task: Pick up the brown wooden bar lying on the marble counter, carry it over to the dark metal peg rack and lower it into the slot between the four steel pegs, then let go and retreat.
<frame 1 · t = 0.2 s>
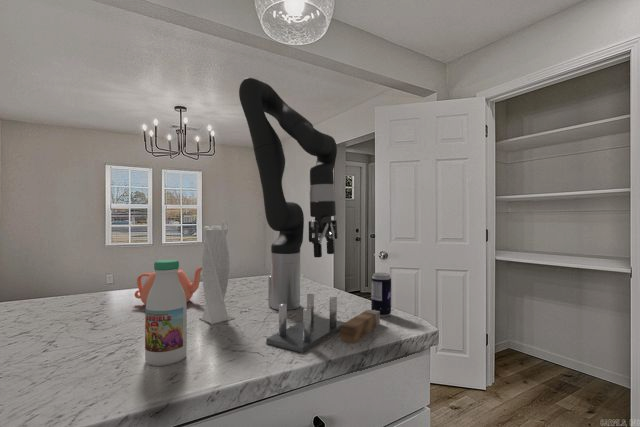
hand: (324, 255, 101), 17 cm above the counter, tool pointing down, fingers open, 8 cm apart
skyscraper: (216, 321, 95), on the counter
brown wooden bar: (361, 331, 86), on the counter
beverage can: (381, 315, 101), on the counter
teapot: (170, 304, 112), on the counter
peg rack: (308, 334, 84), on the counter
milk bottle: (166, 359, 70), on the counter
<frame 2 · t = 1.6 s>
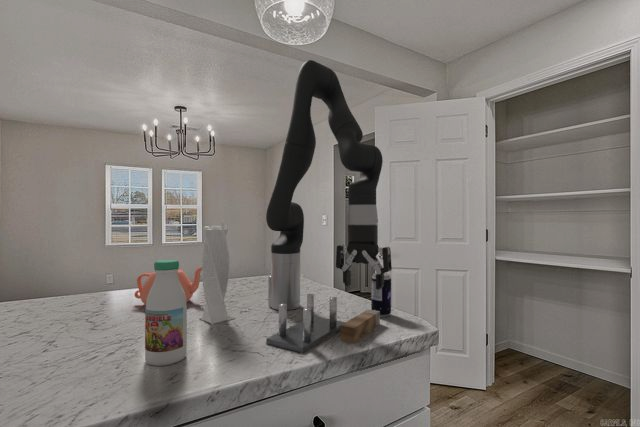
hand: (363, 287, 86), 11 cm above the counter, tool pointing down, fingers open, 8 cm apart
nothing on the counter moved.
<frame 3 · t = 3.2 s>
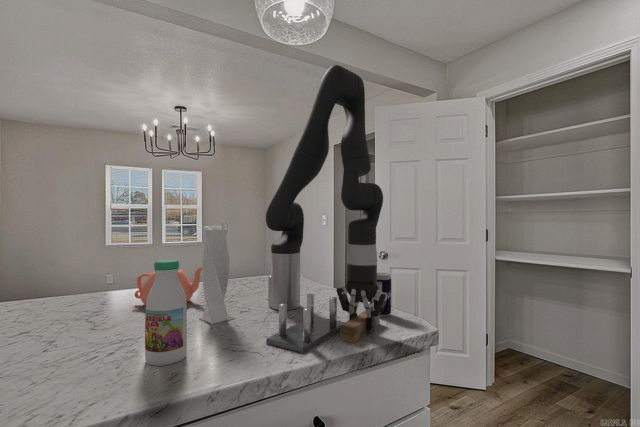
hand: (361, 329, 86), 0 cm above the counter, tool pointing down, fingers closed on brown wooden bar, 3 cm apart
brown wooden bar: (361, 331, 86), on the counter, touching gripper
everything else where it was.
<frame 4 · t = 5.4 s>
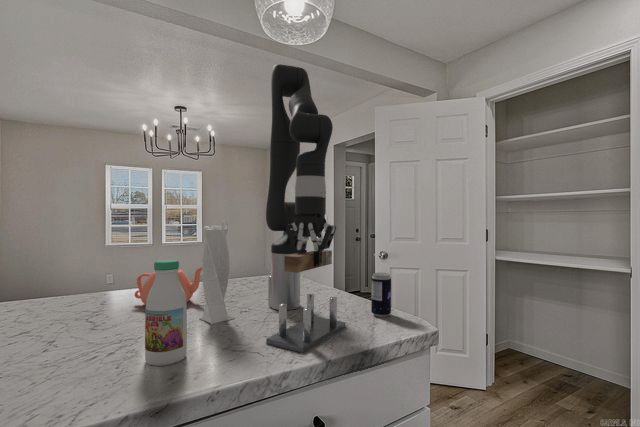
hand: (309, 265, 84), 17 cm above the counter, tool pointing down, fingers closed on brown wooden bar, 3 cm apart
brown wooden bar: (309, 267, 84), point 16 cm above the counter, touching gripper
everything else where it was.
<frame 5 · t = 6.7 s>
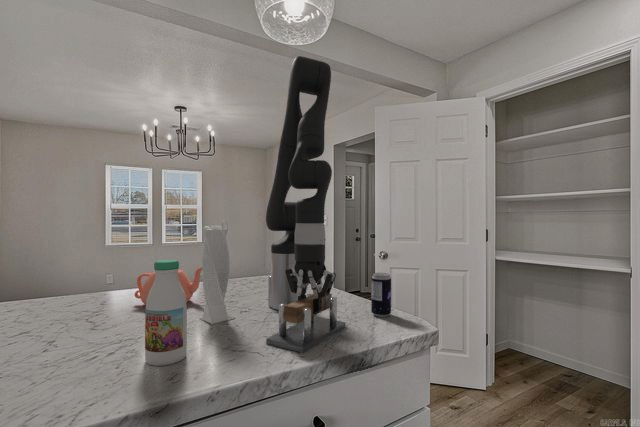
hand: (309, 311, 84), 6 cm above the counter, tool pointing down, fingers closed on brown wooden bar, 3 cm apart
brown wooden bar: (309, 313, 84), point 5 cm above the counter, touching gripper
everything else where it was.
when the fingers open (2 cm above the counter, at t = 7.7 s): brown wooden bar stays where it is, resting on peg rack.
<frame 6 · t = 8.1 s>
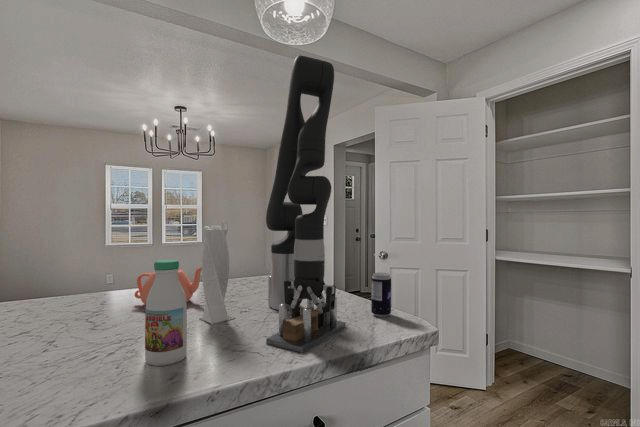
hand: (308, 325, 84), 2 cm above the counter, tool pointing down, fingers open, 6 cm apart
brown wooden bar: (308, 329, 84), point 1 cm above the counter, touching peg rack
everything else where it was.
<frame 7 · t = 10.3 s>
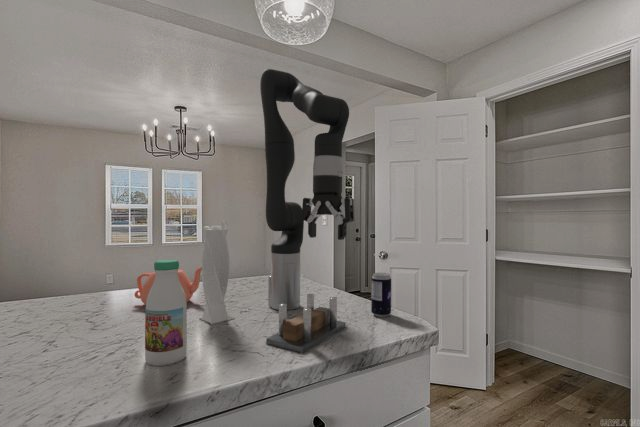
hand: (326, 238, 88), 23 cm above the counter, tool pointing down, fingers open, 8 cm apart
nothing on the counter moved.
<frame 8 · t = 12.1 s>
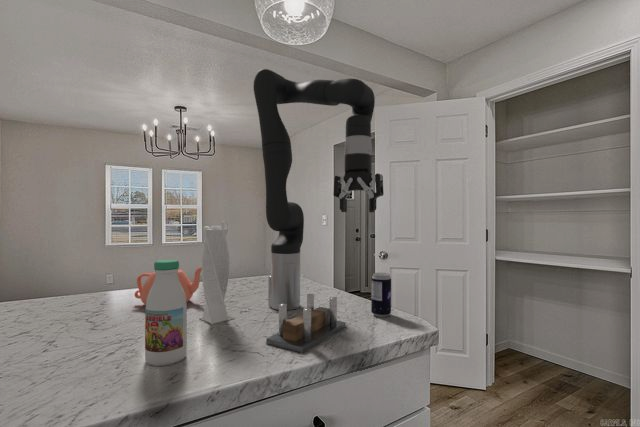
hand: (357, 212, 96), 30 cm above the counter, tool pointing down, fingers open, 8 cm apart
nothing on the counter moved.
at the end: brown wooden bar inside the target area on the peg rack (0.0 cm from its centre), point 1.2 cm above the peg rack's base; brown wooden bar tilted 0°; the gripper is holding nothing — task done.
